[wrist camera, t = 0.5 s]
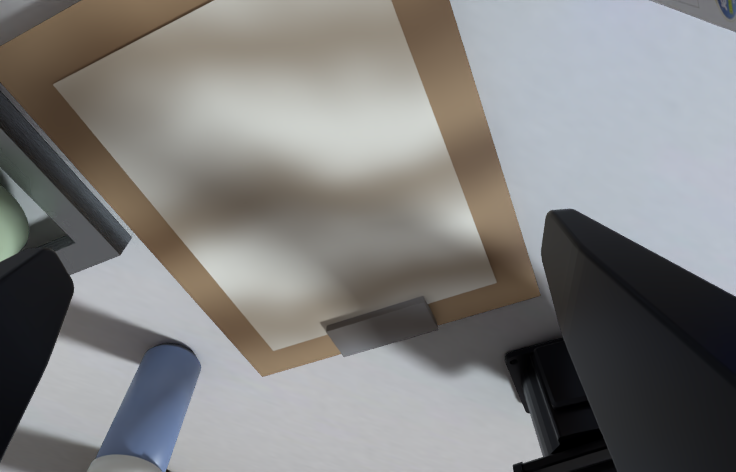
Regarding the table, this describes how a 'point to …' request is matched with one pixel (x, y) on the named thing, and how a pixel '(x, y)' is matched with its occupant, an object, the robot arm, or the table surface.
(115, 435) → the blue cylinder
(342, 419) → the table surface
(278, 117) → the clipboard
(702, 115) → the table surface
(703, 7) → the ink cartridge box
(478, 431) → the table surface
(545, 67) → the table surface
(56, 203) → the button bezel
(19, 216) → the button
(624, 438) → the robot arm
